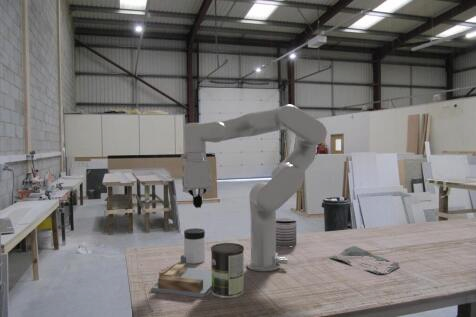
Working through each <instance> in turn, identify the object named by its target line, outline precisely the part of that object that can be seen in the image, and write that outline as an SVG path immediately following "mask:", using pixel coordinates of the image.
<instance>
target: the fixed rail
mask: <svg viewBox="0 0 476 317" xmlns="http://www.w3.org/2000/svg"><path fill="white" fill-rule="evenodd" d="M157 283H158V288H160V289H169V290H178V291H187V292H196V293H200V292H201V291H202V290H203V280H199V279H190V278H180V277H170V276H161V277H160V278H159V277H158V278H157Z"/></svg>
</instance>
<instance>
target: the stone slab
mask: <svg viewBox="0 0 476 317" xmlns="http://www.w3.org/2000/svg"><path fill="white" fill-rule="evenodd" d="M338 255H343V256H362V257H363V256H369V257H373V258H375V259H376V260H375V261H386V262H391V261H390V260H389V259H387V258H385V257H382V256H378V255H374V254H372V253H370V252H369V251H368V250H365V249H363V248H362V247H361V248H360V247H358V246H356V245H354V246H350V247H348V248H345V249H344V250H343V251H341V253H338ZM328 258H329V259H335V260H339V261H342V262H344V263H347V264H348V265H350V263H351V262H350V261H345V260H346V259H344V258H342V259H340V258H338V257H337V256H336V255H332V256H331V255H330V256H328ZM343 259H344V260H343ZM392 262H393V261H392ZM360 263H361V264H365V265H369V264H370V263H367V262H360ZM361 264H360V265H361ZM379 264H381V263H379ZM399 264H400V263H398V262H395V261H394V262H393V264H391V265H390V266H392V267H387V268H390V269H389V270H387V272H389V274H390V273H391V272H393V271H394V270H396V269H397V268H399V267H400V265H399ZM371 265H372V264H370V265H369V266H368V267H370V266H371ZM350 266H351V265H350ZM393 266H394V267H393ZM376 267H377V266H374V268H376ZM387 268H386V269H387ZM370 270H371V269H367V270H366V269H365V272H366V271H367V272H372V273H374V274H377V275H378V274H379V275H380V274H381V275H388V273H387V272H383V273H381V272H382V271H379V270H378V267H377V268H376V269H375V270H374V271H370ZM378 271H379V272H378Z"/></svg>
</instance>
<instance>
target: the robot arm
mask: <svg viewBox="0 0 476 317" xmlns="http://www.w3.org/2000/svg"><path fill="white" fill-rule="evenodd" d="M183 130H184V131H183V132H184V134H183V135H184V154H181V155H180V156H181V159H184V160H185V161H183V164H182V178H181V182H182V188H181V189H182V192H183V193H188V194H189V195H190V196H191V197H192V204H193V206H194V208H196V209H199V208H200V209H201V208H202V205H203V196H204V195H205V193H206V192H209V191H211V190H212V186H213V181H212V178H213V177H212V173H211V171H212V170H211V165H210V161H209V160H207V147H206V145H207V144H206V142H210V143H213V144H214V143H220V142H221V143H222V142H224V141H228V140H233V139H238V138H246V137H247V138H249V137H255V136H259V135H264V134H268V133H272V132H279V131H282V130H289V132H292V133H294V134H295V140H296V143H295V147H294V149H293V150H292V152H291V153H290V154H289V155H288V156H287V157H285V158H284V159H283V160H282V161H281V162H280V163H279V164H278V165H277V166H276V167H274V169H273V170H272V171H271V175H270V176H271V179H270V180H269V181H268V182H258V183H256V184H254V185H253V186H252V187H251V189H250V192H249V197H248V198H249V209H250V210H249V211H250V260H248V261H247V262H246V267H247V268H248V269H250V270H252V271H256V272H273V271H277V270H278V269H280V267H281V264H282V265H288V263H289V262H288V258H286V257H285V256H284V257H282V256H279V253H278V252H277V247H276V219H277V215H276V211H277V210H279V209H280V208H281V207H282V206H284V205H285V204H286V203H287V202H288V201H289V200H290V199H291V198H292V197H293V196H294V195H295V194H296V193H297V192H298V191H299V190H300V188H301V187H302V185H303V183H304V178H305V176H304V172H306V170H307V169H308V168H310V166H311V165H312V164H313V162H314V160H315V158H316V155H317V150H318V149H317V148H318V147H317V146H318V145H319V144H321V143H324V142H325V140H326V138H327V135H328V132H327V128H326V126H325V125H324V124H323V122H321V121H320V120H319V119H316V118H315V117H313V116H311V114H308V113H307V112H305V111H303V110H302V109H300V108H299V107H297V106H295V105H293V104H285V105H283V106H278V107H274V108H270V109H265V110H260V111H259V110H258V111H255V112H250V113H247V114H244V115H241V116H238V117H235V118H232V119H227V120H226V119H225V120H222V121H210V122H203V123H202V122H188V123H185V125H184V126H183Z"/></svg>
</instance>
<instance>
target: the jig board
mask: <svg viewBox="0 0 476 317" xmlns="http://www.w3.org/2000/svg"><path fill="white" fill-rule="evenodd" d="M171 268H172V267H171V266H166V267H165V268H163V270H161V271H159V273H158V279H159V278H160V277H161V276H163V275H164V274H165V273H166V272H167V271H169V270H170V269H171ZM180 278H190V279H199V280H203V290H202V291H201V292H200V293H196V292H187V291H178V290H169V289H160V288H158V282H156V283H154V285H152V286H151V287H150V290H151V292H155V293H162V294H163V293H164V294H172V295H180V296H190V297H197V298H205V297H206V296H207V295H208V294H209V293H210V292H211V291H212V269H207V268H206V269H205V268H197V267H196V268H193V267H186V272H185V273H184V274H183V275H182V276H181V277H180Z"/></svg>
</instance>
